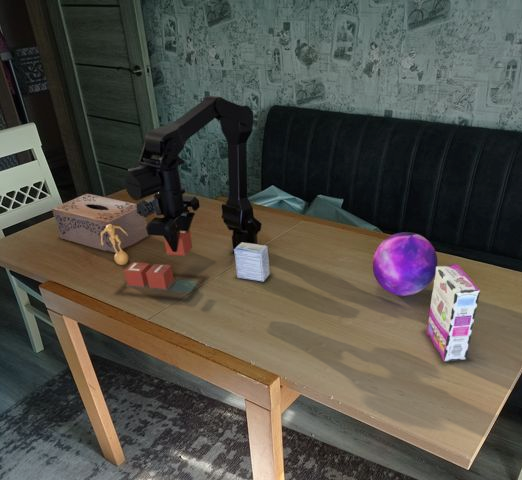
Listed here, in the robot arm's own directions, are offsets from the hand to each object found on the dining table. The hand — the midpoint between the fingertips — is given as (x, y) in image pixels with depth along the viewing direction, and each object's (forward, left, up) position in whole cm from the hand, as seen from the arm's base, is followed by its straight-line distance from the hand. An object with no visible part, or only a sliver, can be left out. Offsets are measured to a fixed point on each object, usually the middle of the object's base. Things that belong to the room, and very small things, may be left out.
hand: (179, 247), depth 136 cm
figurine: (+24, -8, -11) cm, 28 cm away
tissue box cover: (+39, -24, -11) cm, 47 cm away
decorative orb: (-56, -6, -11) cm, 57 cm away
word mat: (+6, +2, -11) cm, 13 cm away
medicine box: (-17, -7, -11) cm, 21 cm away
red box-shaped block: (+6, +2, -10) cm, 12 cm away
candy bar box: (-67, +15, -11) cm, 69 cm away
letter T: (0, 0, -1) cm, 1 cm away
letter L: (+13, +2, -10) cm, 17 cm away
